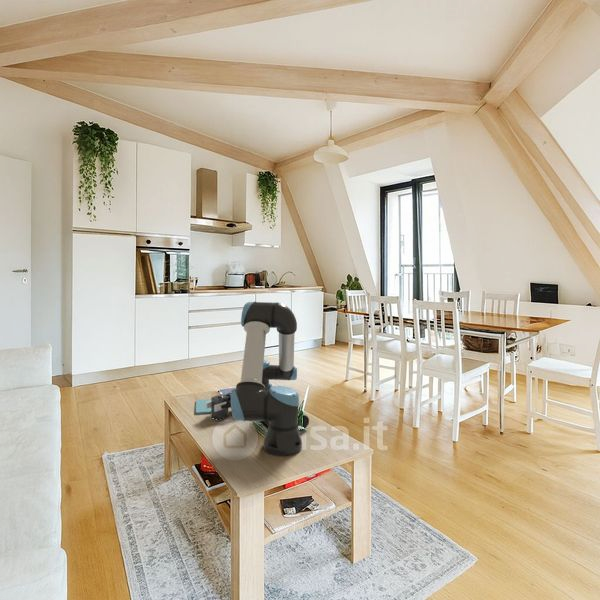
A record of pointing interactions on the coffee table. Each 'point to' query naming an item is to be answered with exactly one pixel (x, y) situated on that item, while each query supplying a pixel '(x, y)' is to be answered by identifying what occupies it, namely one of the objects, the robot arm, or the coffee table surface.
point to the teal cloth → (202, 406)
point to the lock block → (215, 401)
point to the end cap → (305, 421)
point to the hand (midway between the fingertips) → (210, 407)
